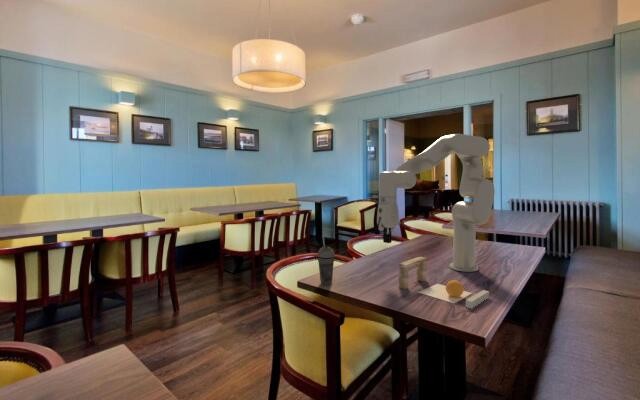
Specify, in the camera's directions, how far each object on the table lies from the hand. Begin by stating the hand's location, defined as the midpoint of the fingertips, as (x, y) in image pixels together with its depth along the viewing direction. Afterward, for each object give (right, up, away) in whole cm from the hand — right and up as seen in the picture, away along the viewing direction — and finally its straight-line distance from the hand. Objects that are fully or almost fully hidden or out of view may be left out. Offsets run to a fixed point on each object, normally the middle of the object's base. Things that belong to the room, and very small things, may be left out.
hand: (387, 242), depth 143 cm
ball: (+20, -14, -23) cm, 33 cm away
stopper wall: (+26, -17, -28) cm, 42 cm away
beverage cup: (-27, -16, -7) cm, 32 cm away
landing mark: (+18, -17, -19) cm, 31 cm away
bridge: (+9, -16, -8) cm, 20 cm away
